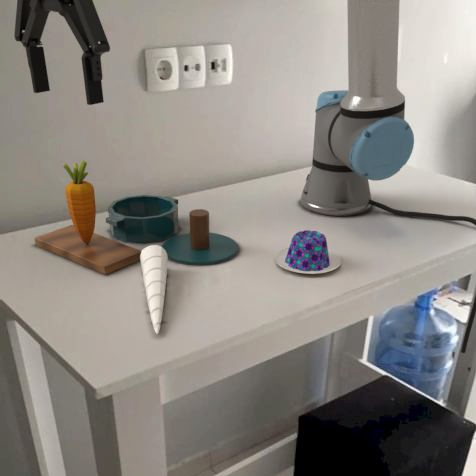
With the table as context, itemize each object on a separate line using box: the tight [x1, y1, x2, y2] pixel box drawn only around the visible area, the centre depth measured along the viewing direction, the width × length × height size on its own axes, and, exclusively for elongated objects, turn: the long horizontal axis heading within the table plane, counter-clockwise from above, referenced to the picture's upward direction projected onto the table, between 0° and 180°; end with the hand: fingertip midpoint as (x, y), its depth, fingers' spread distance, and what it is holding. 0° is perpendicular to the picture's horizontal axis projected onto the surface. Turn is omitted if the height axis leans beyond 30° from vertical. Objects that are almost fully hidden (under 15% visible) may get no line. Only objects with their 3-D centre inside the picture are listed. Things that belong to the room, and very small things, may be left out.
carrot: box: [62, 160, 97, 245], centre depth 113 cm, size 5×5×15 cm
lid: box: [161, 208, 239, 266], centre depth 117 cm, size 14×14×7 cm
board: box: [33, 224, 142, 276], centre depth 117 cm, size 20×9×2 cm, turn 51°
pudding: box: [274, 229, 342, 275], centre depth 113 cm, size 12×12×5 cm
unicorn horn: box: [139, 244, 169, 335], centre depth 101 cm, size 5×24×5 cm, turn 3°
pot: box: [105, 194, 180, 244], centre depth 126 cm, size 13×17×5 cm
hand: (67, 97), depth 102 cm, fingers open, 13 cm apart
